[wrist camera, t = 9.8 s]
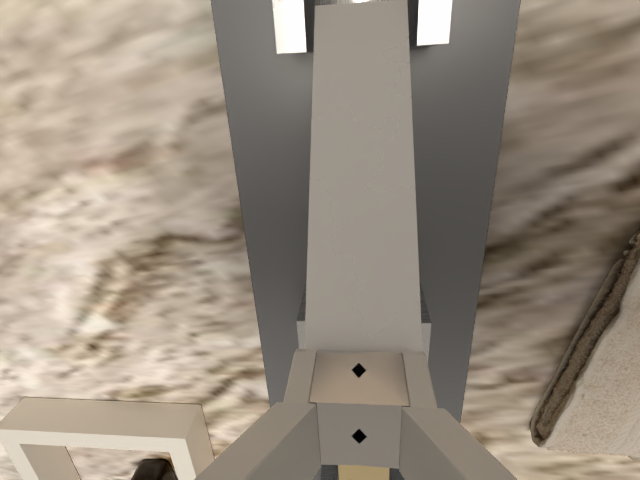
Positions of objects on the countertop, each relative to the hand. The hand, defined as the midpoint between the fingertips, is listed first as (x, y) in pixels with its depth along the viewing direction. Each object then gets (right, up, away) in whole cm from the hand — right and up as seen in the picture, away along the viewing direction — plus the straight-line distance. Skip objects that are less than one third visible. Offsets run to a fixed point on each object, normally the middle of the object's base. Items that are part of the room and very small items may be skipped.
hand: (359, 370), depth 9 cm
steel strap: (0, +6, +4) cm, 7 cm away
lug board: (+2, +1, +15) cm, 15 cm away
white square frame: (-17, -16, +25) cm, 34 cm away
